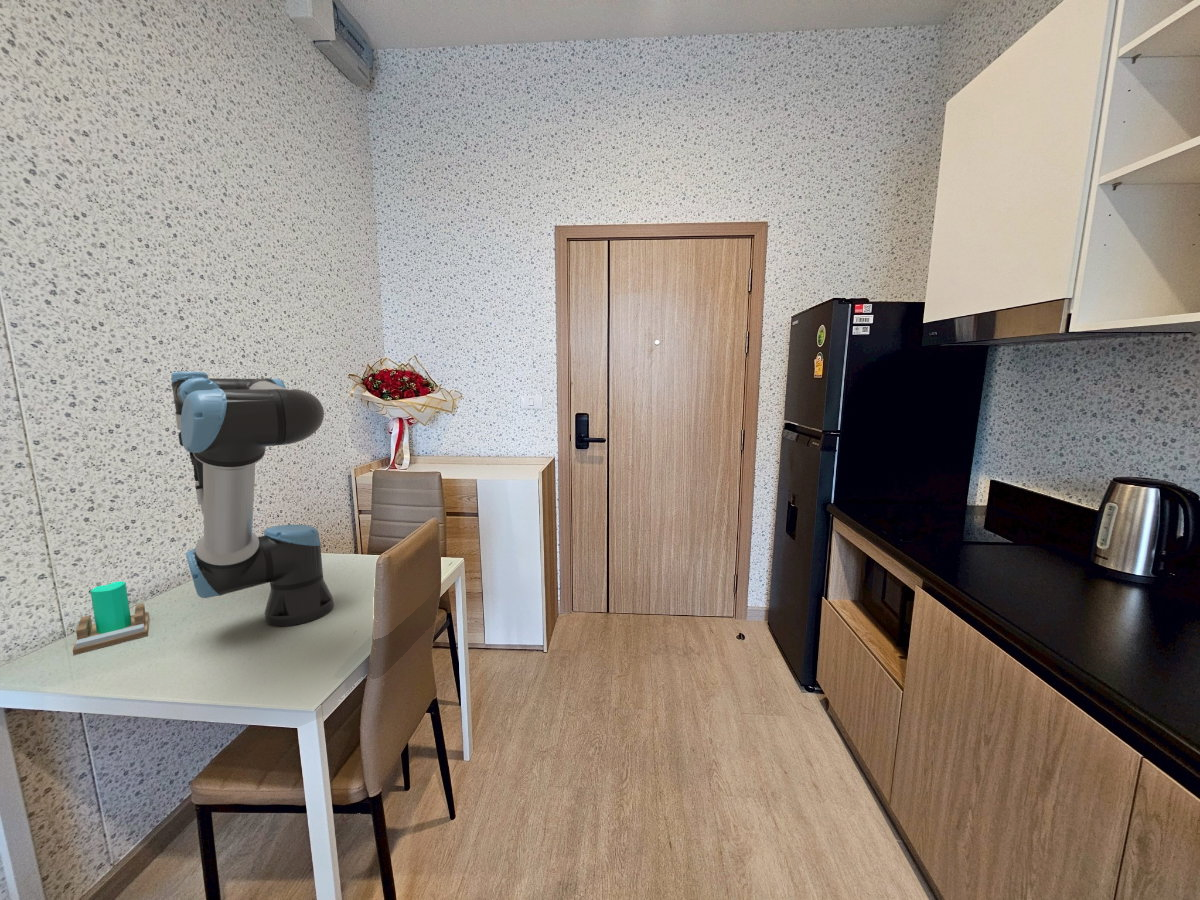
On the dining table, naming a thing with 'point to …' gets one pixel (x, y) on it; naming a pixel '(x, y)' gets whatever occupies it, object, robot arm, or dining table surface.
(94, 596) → the candle
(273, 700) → the dining table surface
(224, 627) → the dining table surface
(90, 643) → the wing slat
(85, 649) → the jig
